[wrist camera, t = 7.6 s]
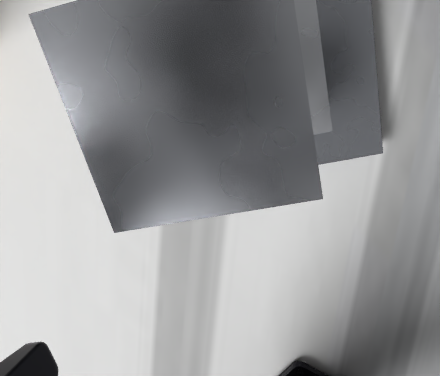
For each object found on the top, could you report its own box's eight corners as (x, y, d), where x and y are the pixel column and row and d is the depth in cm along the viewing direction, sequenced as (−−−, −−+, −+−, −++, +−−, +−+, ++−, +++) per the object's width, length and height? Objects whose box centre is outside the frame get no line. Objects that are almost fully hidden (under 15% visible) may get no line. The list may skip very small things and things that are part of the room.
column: (297, 110, 14) (329, 202, 8) (179, 135, 15) (111, 237, 8) (276, -27, 13) (290, -69, 6) (143, 9, 14) (20, 9, 7)
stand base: (377, 146, 19) (403, 178, 16) (149, 187, 22) (126, 224, 18) (352, -153, 15) (382, -206, 11) (66, -61, 17) (13, -80, 13)
